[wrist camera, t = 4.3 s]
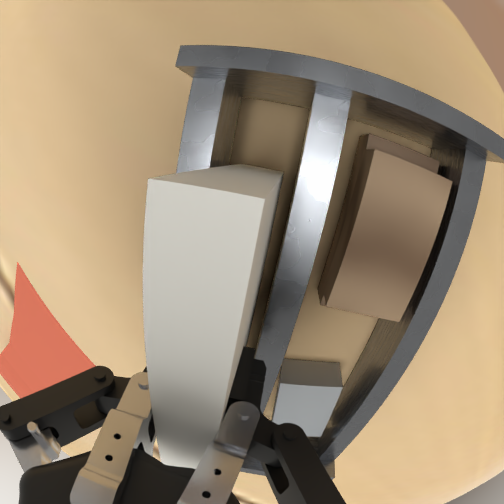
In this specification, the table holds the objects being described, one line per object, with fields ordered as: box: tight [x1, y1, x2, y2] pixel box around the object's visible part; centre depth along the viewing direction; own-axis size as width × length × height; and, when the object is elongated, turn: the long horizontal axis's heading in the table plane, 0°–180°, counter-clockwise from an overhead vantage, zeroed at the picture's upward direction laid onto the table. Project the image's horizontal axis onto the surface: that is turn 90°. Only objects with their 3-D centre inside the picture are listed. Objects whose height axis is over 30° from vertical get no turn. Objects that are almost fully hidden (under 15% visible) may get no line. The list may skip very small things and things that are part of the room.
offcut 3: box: [323, 149, 452, 322], centre depth 13 cm, size 8×4×2 cm, turn 168°
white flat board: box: [143, 164, 284, 469], centre depth 14 cm, size 18×2×11 cm, turn 170°
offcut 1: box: [272, 358, 343, 437], centre depth 20 cm, size 7×4×3 cm, turn 177°
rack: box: [176, 45, 504, 479], centre depth 16 cm, size 28×15×6 cm, turn 170°
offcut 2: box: [318, 134, 440, 306], centre depth 15 cm, size 10×4×2 cm, turn 169°
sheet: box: [0, 262, 95, 398], centre depth 26 cm, size 6×30×24 cm
